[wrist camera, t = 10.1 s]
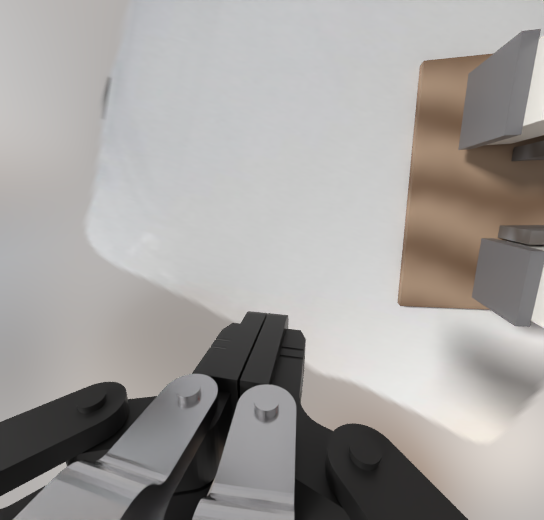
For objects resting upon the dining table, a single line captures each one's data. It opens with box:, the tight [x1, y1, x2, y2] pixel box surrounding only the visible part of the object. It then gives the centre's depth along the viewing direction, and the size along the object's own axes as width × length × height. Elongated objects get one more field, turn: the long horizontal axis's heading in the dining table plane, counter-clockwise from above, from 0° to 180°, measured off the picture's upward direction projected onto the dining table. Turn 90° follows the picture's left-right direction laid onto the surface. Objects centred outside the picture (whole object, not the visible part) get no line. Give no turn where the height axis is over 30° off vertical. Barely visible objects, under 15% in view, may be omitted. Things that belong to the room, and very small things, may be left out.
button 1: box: [472, 238, 544, 328], centre depth 22 cm, size 6×5×9 cm
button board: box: [398, 54, 544, 309], centre depth 21 cm, size 25×16×11 cm, turn 2°
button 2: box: [458, 29, 544, 150], centre depth 19 cm, size 6×5×9 cm
